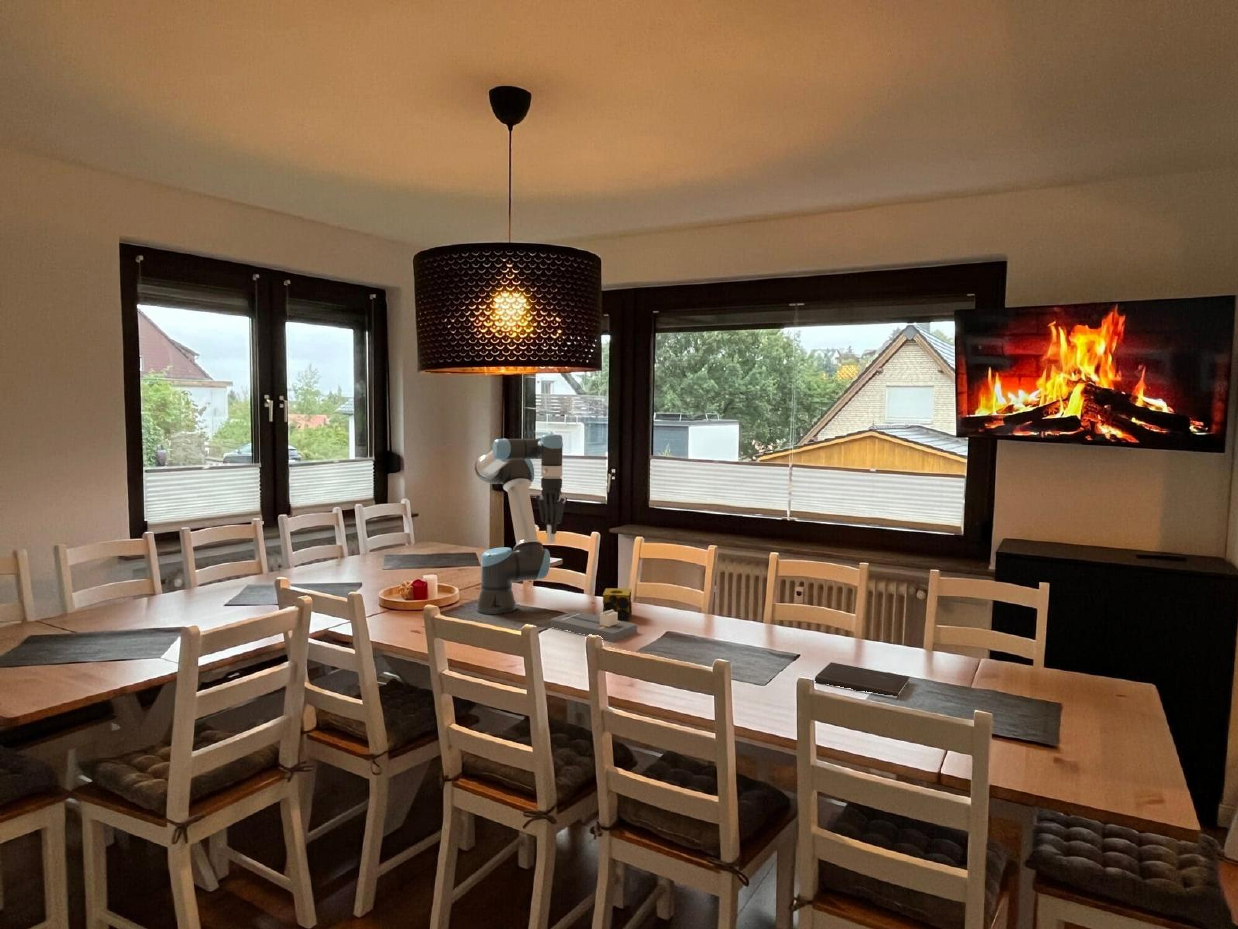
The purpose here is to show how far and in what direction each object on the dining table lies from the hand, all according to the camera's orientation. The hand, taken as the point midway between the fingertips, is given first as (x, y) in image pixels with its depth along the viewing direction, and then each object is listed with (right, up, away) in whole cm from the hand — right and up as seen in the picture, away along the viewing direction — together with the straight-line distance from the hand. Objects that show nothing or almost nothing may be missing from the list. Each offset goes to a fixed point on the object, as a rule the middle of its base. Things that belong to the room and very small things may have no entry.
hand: (551, 542), depth 278 cm
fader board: (+15, -30, -7) cm, 35 cm away
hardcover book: (+95, -36, -55) cm, 115 cm away
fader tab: (+21, -27, -11) cm, 36 cm away
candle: (+24, -29, +11) cm, 39 cm away
